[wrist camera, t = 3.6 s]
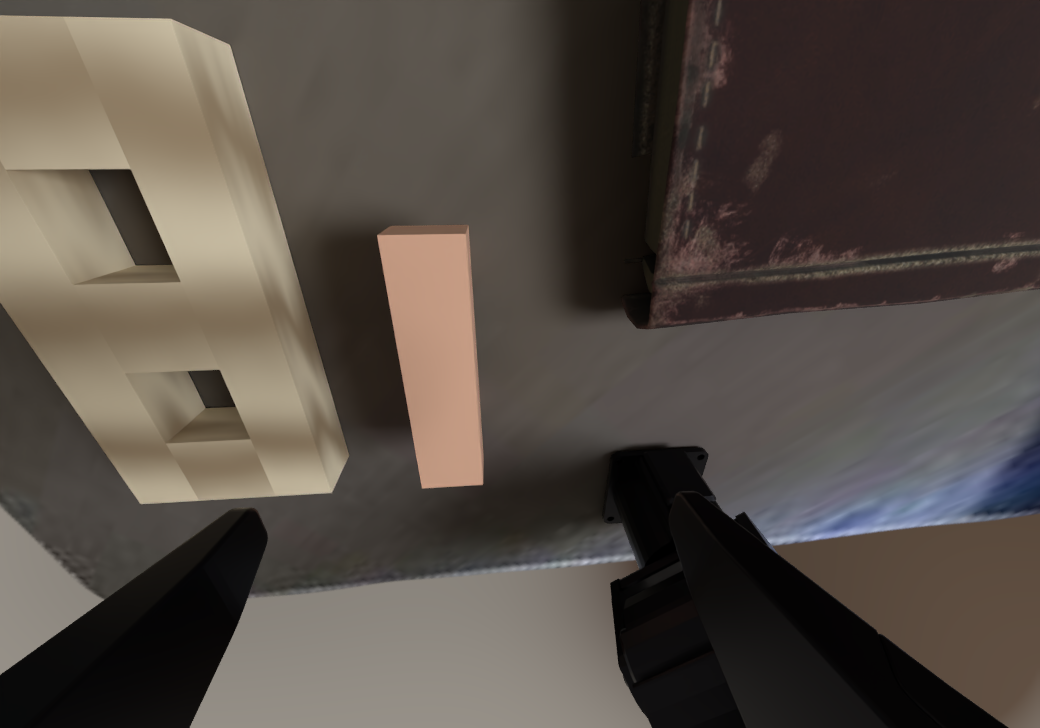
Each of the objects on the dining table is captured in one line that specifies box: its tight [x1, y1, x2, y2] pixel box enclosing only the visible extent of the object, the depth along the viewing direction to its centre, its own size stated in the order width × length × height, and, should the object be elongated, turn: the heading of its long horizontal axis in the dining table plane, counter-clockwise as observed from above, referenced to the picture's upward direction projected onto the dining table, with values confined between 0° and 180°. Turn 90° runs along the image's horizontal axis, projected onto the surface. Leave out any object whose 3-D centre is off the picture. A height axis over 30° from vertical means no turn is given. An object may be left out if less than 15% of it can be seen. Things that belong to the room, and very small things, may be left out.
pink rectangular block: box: [377, 225, 484, 488], centre depth 18 cm, size 12×3×5 cm, turn 0°
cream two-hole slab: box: [0, 16, 349, 504], centre depth 17 cm, size 20×10×3 cm, turn 0°
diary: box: [621, 0, 1040, 329], centre depth 15 cm, size 19×25×5 cm
